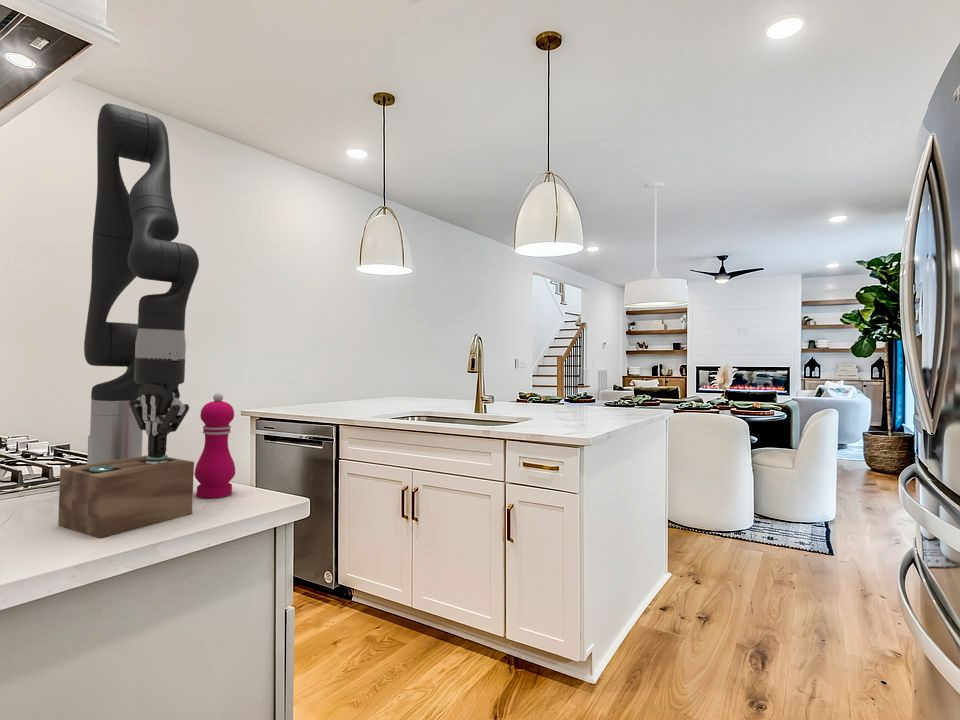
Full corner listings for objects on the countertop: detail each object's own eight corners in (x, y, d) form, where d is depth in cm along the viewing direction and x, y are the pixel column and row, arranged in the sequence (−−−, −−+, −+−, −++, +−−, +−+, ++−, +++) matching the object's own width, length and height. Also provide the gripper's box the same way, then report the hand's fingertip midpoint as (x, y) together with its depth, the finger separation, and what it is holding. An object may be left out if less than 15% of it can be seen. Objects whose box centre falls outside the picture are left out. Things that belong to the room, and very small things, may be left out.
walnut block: (58, 525, 85) (60, 468, 85) (151, 503, 99) (152, 454, 99) (100, 538, 80) (102, 477, 80) (192, 513, 94) (194, 461, 94)
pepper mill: (204, 501, 102) (208, 395, 102) (186, 494, 106) (190, 392, 106) (241, 494, 107) (245, 394, 107) (223, 488, 112) (226, 391, 112)
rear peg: (140, 503, 93) (141, 456, 93) (158, 499, 96) (159, 453, 96) (152, 506, 91) (153, 458, 91) (170, 501, 94) (171, 456, 94)
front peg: (82, 519, 85) (84, 468, 85) (104, 513, 88) (106, 464, 88) (95, 522, 83) (97, 470, 83) (116, 517, 86) (118, 467, 86)
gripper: (114, 354, 93) (110, 455, 93) (165, 357, 87) (161, 464, 87) (156, 355, 100) (153, 449, 100) (206, 357, 94) (202, 457, 94)
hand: (156, 456), depth 94 cm, fingers closed
